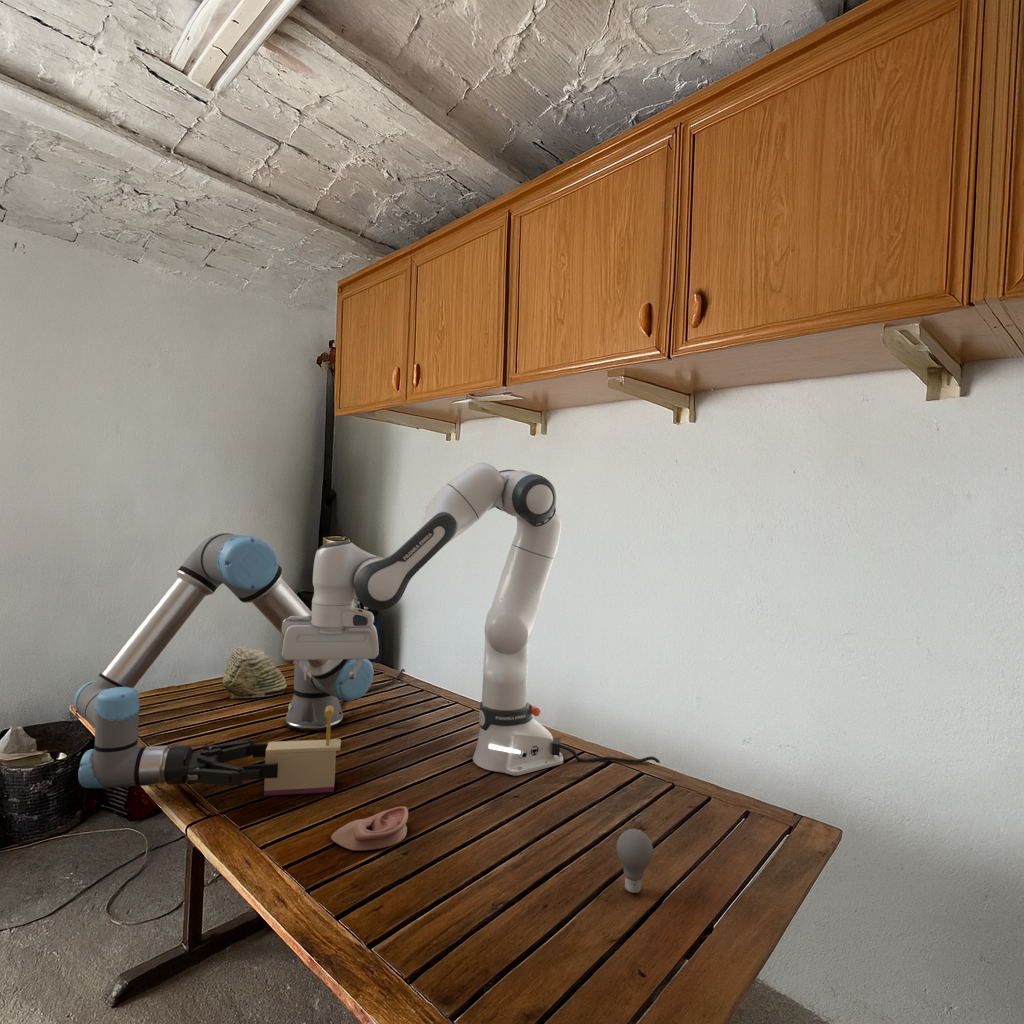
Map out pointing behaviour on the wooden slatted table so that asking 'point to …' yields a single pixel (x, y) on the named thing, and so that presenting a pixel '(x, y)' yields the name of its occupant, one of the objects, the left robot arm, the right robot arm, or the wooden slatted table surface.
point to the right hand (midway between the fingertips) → (330, 679)
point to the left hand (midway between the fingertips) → (281, 759)
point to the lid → (308, 741)
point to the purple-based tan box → (301, 773)
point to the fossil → (252, 674)
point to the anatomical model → (374, 830)
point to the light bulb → (634, 857)
